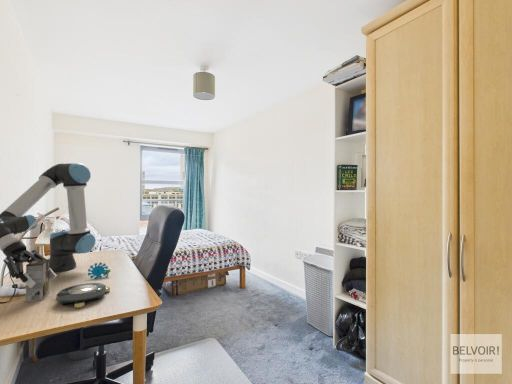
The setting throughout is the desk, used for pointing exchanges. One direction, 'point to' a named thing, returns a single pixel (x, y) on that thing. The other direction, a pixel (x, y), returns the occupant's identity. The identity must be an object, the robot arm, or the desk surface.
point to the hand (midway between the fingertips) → (44, 281)
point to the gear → (98, 270)
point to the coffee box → (38, 279)
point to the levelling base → (82, 294)
